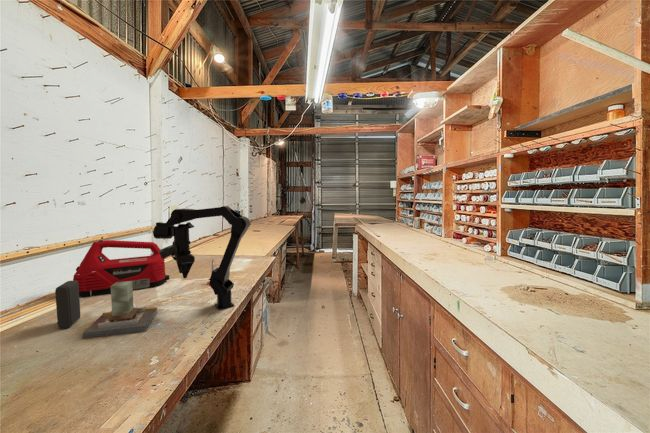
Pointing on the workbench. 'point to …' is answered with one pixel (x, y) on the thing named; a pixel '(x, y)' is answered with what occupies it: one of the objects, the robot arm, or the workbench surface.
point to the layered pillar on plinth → (122, 301)
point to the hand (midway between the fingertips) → (182, 275)
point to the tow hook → (212, 269)
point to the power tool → (119, 269)
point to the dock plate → (121, 324)
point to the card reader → (67, 304)
